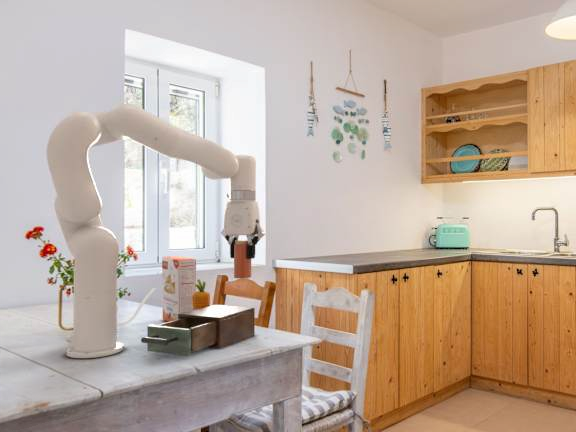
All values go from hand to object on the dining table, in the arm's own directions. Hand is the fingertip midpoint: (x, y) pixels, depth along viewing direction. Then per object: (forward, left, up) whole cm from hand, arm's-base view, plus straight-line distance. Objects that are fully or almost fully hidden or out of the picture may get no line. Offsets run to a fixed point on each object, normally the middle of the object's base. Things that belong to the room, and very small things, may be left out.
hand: (242, 257), depth 157 cm
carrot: (-13, -3, -22) cm, 26 cm away
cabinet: (0, -12, -22) cm, 25 cm away
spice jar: (0, 0, -6) cm, 6 cm away
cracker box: (-26, +2, -22) cm, 34 cm away
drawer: (0, -26, -21) cm, 33 cm away
